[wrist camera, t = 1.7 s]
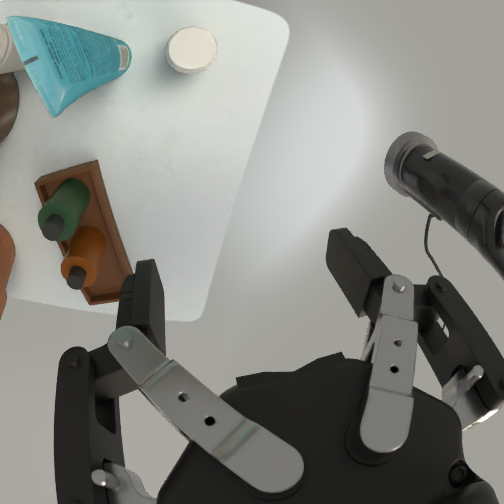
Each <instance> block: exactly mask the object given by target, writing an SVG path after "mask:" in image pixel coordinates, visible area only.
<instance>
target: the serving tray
mask: <svg viewBox="0 0 504 504" xmlns="http://www.w3.org/2000/svg"><path fill="white" fill-rule="evenodd" d="M69 178H76V179H79V180H81V181H83V182H84V183H85V184H86V185H87V187H88V189H89V191H90V202H89V205H88V206H87V208H86V210H85V212H84V214H83V216H82V218H81V220H80V222H79V224H78V226H77V228H76V230H75V232H74V233H73V235H72V236H71V237H70V238H69V239H67V240H65V241H57V243H58V245H59V247H60V249H61V251H62V254H63V256H64V257H65V255H66V252H67V250H68V248H69V246H70V244H71V241H72V239H73V237H74V235H75V233H76V231H77V230H78V229H79V228H81V227H83V226H93V227H96V228H98V229H99V230H100V231H101V232H102V233H103V234H104V236H105V239H106V246H105V250H104V253H103V256H102V260H101V263H100V267H99V270H98V274H97V277H96V280H95V282H94V283H93V284H92V285H90V286H88V287H82V288H81V291H82V293H83V295H84V297H85V299H86V300H87V302H88V304H89V305H97V304H104V303H111V302H117V301H120V295H121V287H122V283H123V281H124V280H125V278H126V277H127V275H129V274H133V271H132V268H131V266H130V263H129V260H128V258H127V255H126V252H125V249H124V246H123V243H122V241H121V238H120V235H119V232H118V229H117V226H116V223H115V219H114V216H113V213H112V210H111V207H110V203H109V200H108V196H107V193H106V189H105V186H104V182H103V179H102V175H101V171H100V167H99V163H98V160H94V161H90V162H87V163H83V164H80V165H76V166H73V167H69V168H66V169H63V170H60V171H56V172H53V173H50V174H47V175H44V176H41V177H40V178H39V179H38V180H37V181H36V182H35V183H34V184H35V187H36V189H37V192H38V195H39V198H40V201H41V203H42V206H43V205H44V204H45V203H46V202H47V200H48V199H49V198H50V196H51V195H52V194H53V193H54V191H55V190H56V189H57V188H58V186H59V185H60V184H61V183H62V182H63V181H64V180H66V179H69Z"/></svg>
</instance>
